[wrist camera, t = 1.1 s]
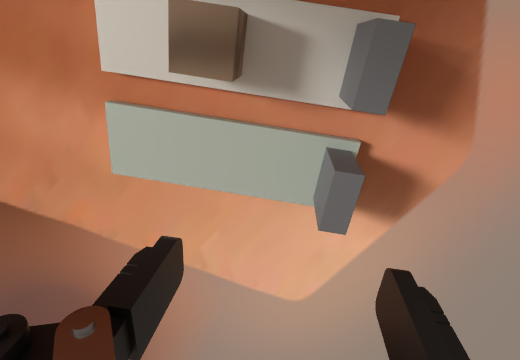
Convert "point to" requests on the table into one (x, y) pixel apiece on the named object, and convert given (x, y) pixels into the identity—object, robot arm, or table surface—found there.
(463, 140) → the table surface
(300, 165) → the sage strip
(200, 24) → the walnut block
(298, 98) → the cream strip
